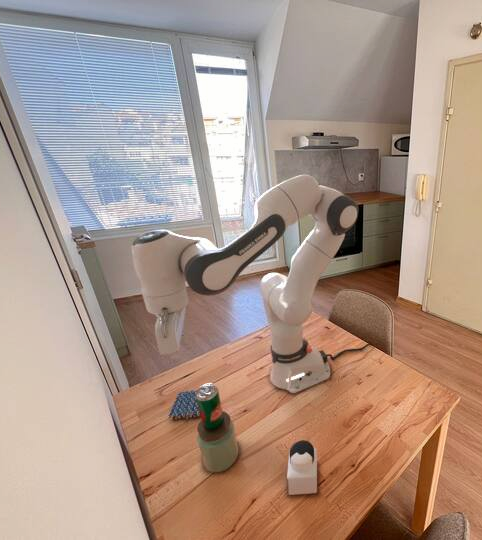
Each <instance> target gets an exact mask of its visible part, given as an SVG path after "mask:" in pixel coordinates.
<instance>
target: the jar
mask: <svg viewBox="0 0 482 540" xmlns="http://www.w3.org/2000/svg"><path fill="white" fill-rule="evenodd" d="M222 411H223V416H224V422H223V424H222V425H221V426H220V427H219V428H218V429H216V430H214V431H207V430H205V429H204V428H203V424H202V420H201V419H200V421H199V422H198V425H197V428H196V431H197V437H196V438H197V443H198V446H199V447H198V448H199V451H200V455H201V459H202V463H203V465H204V468H205V469H206V470H207V471H208V472H210V473H221V472H223V471H226V470H227V469H229V468H230V467H231V466H232V465H233V464H234V463H235V462H236V460H237V458H238V455H239V446H238V440H237V436H236V431H235V426H234V425H235V424H234V422H233V420H232V419H231V416H230V414H229V413H228V412H226V411H224V410H222Z"/></svg>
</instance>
